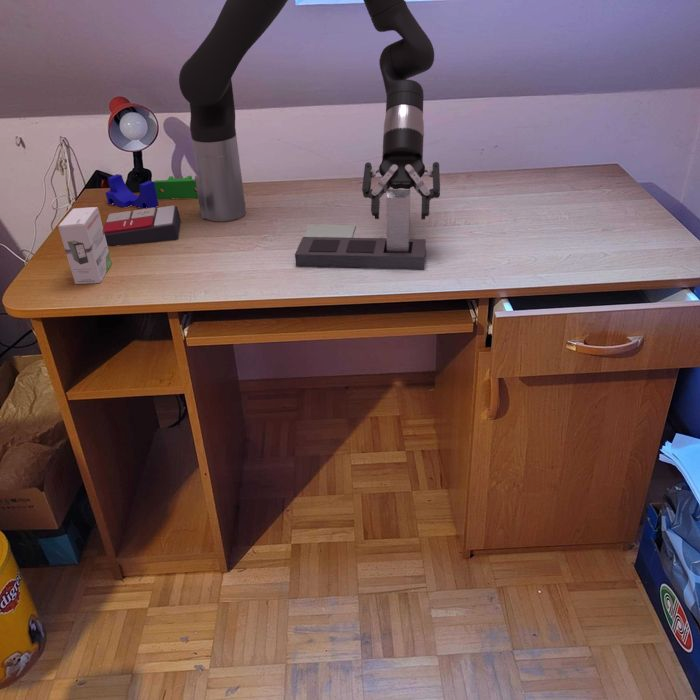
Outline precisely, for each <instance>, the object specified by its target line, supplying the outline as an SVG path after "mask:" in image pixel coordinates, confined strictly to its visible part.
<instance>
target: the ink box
mask: <svg viewBox="0 0 700 700" xmlns="http://www.w3.org/2000/svg"><path fill="white" fill-rule="evenodd" d="M57 226H58V231H59V235H60V238H61V241H62V244H63V247H64V252H65V255H66V257H67V261H68V264H69V268H70V272H71V274H72V278H73V281H74V284H75V285H83V284H101V282H102V281H103V279H104V277H105V276H106V274H107V273H108V271H109V269H110V267H111V266H112V263H113V262H112V259H111V258H112V257H111V255H110V251H109V247H108V246H107V242H106V238H105V234H104V230H103V228H104V225H103V223H102V218H101V214H100V210H99V207H97V206H92V207H91V206H90V207H78V208H77V207H76V208H74V207H73V208H72V209H71V210H70V212H69V213H67V215H66V216H65V217H64V218H63V219H62V221H61V222H60V223H59V224H58V225H57Z"/></svg>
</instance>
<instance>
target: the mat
mask: <svg viewBox="0 0 700 700" xmlns="http://www.w3.org/2000/svg"><path fill="white" fill-rule="evenodd" d="M355 231H356V225H355V224H308V225H307V227H306V229H305V231H304V233H303V236H302V238H303V237H344V238H354V237H353V236H354V233H355Z"/></svg>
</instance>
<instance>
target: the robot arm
mask: <svg viewBox="0 0 700 700" xmlns="http://www.w3.org/2000/svg"><path fill="white" fill-rule="evenodd" d="M288 1H289V0H225V3H224V4H223V6H222V8H221V10H220V13H219V15H218V17H217V19H216V21H215V23H214V25H213V27H212V28H211V30H210V31H209V33H208V34H207V36H206V38H205V39H204V40H203V41H202V42H201V44H200V45H199V47H197V49H196V50H195V51H194V53H192V54H191V56H190V57H189V58H188V59H187V60H186V61H185V62H184V63H183V65H182V67H181V69H180V71H179V75H178V85H179V89H180V92H181V94H182V96H183V98H184V100H186V101H187V103H189V106H190V107H189V108H190V110H189V111H190V123H189V131H190V136H191V142H192V147H193V154H194V161H195V166H196V171H197V172H196V173H197V174H195V176H194V179H195V182H196V188H195V189H196V191H197V194H198V199H197V200H198V204H199V210H200V211H199V212H200V217H201V219H205V220H209V221H211V222H229V221H234V220H238V219H240V218H243V217H244V216H245V215H246V213H247V209H246V208H247V207H246V200H245V191H244V184H243V177H242V169H241V162H240V161H241V160H240V154H239V146H238V137H237V132H236V108H235V99H234V91H233V90H234V89H233V81H232V77H233V76H234V75H235V72H236V70H237V68H238V66H239V64H240V63H241V61H242V60H243V59H244V56H245V55H246V54H247V53H248V51H249V50H250V49H251V48H252V46H253V45H255V43H256V42H257V41H258V40H259V39H260V37H262V36H263V34H264V33H265V32H266V31H267V29H268V28H269V27H270V26H271V25H272V23H273V22H274V20H275V19H277V17H278V15H279V14H280V13H281V11H282V10H283V9H284V6H286V4H287V2H288ZM363 3H364V4H365V5H364V6H365V8H366V10H367V12H368V15H369V18H370V21H371V23H372V25H373V27H374V29H375V30H376V31H377V32H380V33H385V32H390V31H391V32H392V31H394V32H396V33H397V34H398V35H399V36H400V37H401V39H399V40H397V41H394V42H392V43H391V44H388V45H387V46H385V48H383V50H382V51H381V53H380V56H379V60H378V61H379V69H380V73H381V76H382V80H383V84H384V85H383V86H384V89H385V94H386V102H385V103H386V106H385V118H384V123H383V135H382V138H383V139H382V155H381V156H382V157H381V158H382V159H381V163H380V164H379V165H377V164H376V165H375V164H374V165H373V164H372V163H371V162H366V163H365V164H364V169H363V177H362V178H363V179H362V187H361V190H362V195H363V198H365V199H367V198H368V199H371V202H370V203H371V204H370V212H371V215H372V217H374V219H375V220H380V208H381V207H380V205H381V204H380V203H381V200H380V199H381V197H382V196H383V195H384V194H387V192H388V190H390V188H392V190H401V189H403V190H411V188H414V190H415V191H416V193H418V194H419V195H420V196H421V212H420V213H421V217H420V219H421V220H424V221H425V220H426V217H429V215H430V201H431V200H432V199H434V198H436V199H438V198H440V196H441V182H440V181H441V179H440V178H441V175H440V173H441V172H440V163H439V162H438V161H434V162H433V163H432V164H424V162H423V158H424V138H425V130H424V129H425V125H424V124H425V121H424V96H425V95H424V89H423V87H422V85H421V84H420V83H419V82H417V81H415V80H414V79H410V78H412V77H415V76H417V75H421V74H422V73H425V72H427V71H428V70H430V69H431V68H432V66H433V64H434V61H435V48H434V47H433V42H432V41H431V40H430V38H429V36H428V35H427V33H426V32H425V31H424V30H423V28H422V27H421V25H420V24H419V23H418V21H417V19H416V18H415V16H414V15H413V13H412V12H411V10H410V8H409V6H408V5H407V2H406V0H363ZM378 173H379V174H380V175H381V178H380V180H379V181H378V183H377V185H375V187H374V188H371V187H372V179H373V178H375V177H376V175H377V174H378ZM425 173H426V174H428V177H430V178H432V187H433V188H430V189H429V188H428V187H427V185H426V184H425V183H424V181H423V179H422V178H423V175H424V174H425Z"/></svg>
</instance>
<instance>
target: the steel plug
mask: <svg viewBox="0 0 700 700" xmlns="http://www.w3.org/2000/svg"><path fill="white" fill-rule="evenodd" d="M385 201H386V202H385V204H386V211H385V212H386V238H387V253H409V249H410V239H411V236H410V235H411V230H410V229H411V225H410V224H411V222H410V221H411V189H388V191H387V192H386V198H385Z"/></svg>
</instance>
